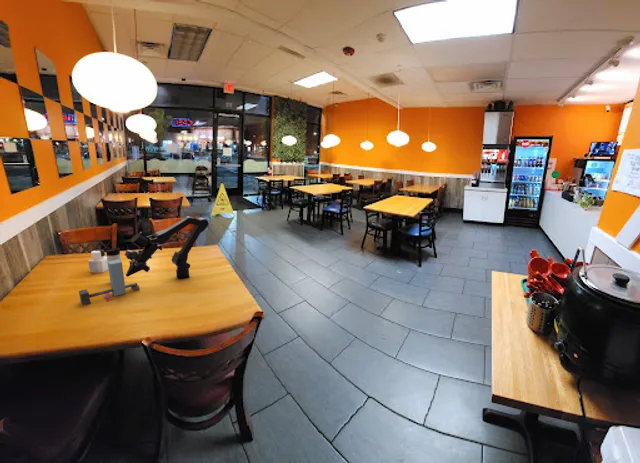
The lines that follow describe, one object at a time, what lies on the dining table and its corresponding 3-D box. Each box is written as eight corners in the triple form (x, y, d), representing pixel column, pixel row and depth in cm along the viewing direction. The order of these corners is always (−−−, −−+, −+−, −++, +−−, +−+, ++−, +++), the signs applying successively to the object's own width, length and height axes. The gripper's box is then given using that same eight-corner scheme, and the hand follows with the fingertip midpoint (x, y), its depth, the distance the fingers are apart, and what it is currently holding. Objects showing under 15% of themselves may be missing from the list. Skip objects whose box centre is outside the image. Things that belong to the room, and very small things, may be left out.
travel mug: (117, 284, 161) (112, 250, 156) (107, 282, 163) (102, 249, 157) (127, 279, 167) (122, 247, 162) (117, 278, 169) (112, 246, 163)
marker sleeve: (123, 289, 155) (118, 259, 150) (126, 293, 151) (121, 262, 147) (112, 292, 151) (107, 261, 146) (114, 296, 148) (110, 264, 143)
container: (98, 267, 182) (94, 248, 178) (111, 267, 183) (108, 248, 179) (89, 272, 174) (86, 252, 171) (103, 272, 175) (100, 252, 172)
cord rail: (135, 285, 161) (134, 275, 160) (141, 291, 155) (140, 281, 153) (79, 300, 143) (77, 289, 142) (84, 307, 137) (82, 296, 135)
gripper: (128, 240, 158) (107, 263, 153) (140, 248, 146) (117, 274, 141) (146, 250, 166) (126, 273, 160) (158, 259, 154) (137, 284, 148)
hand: (126, 276), depth 152 cm, fingers closed
